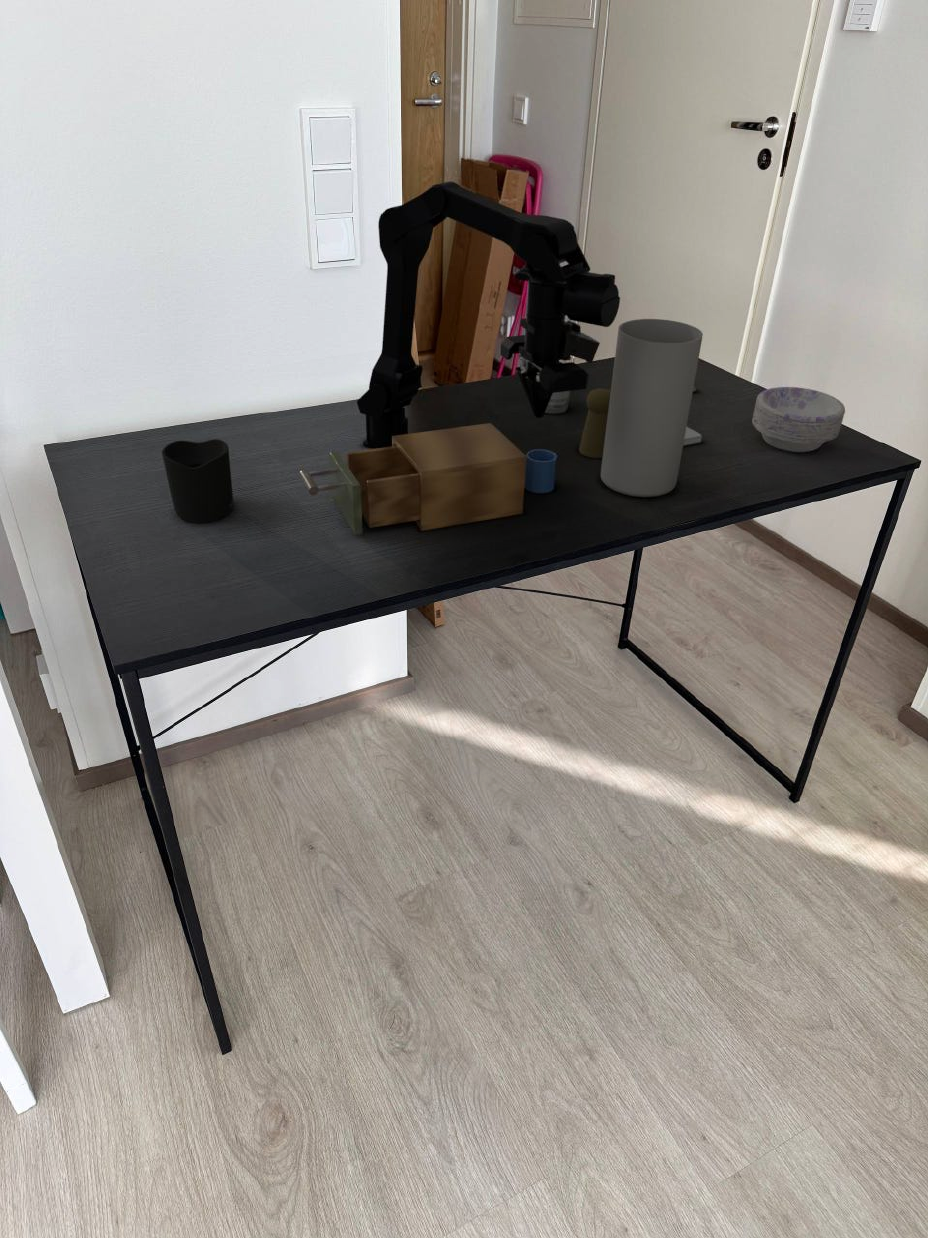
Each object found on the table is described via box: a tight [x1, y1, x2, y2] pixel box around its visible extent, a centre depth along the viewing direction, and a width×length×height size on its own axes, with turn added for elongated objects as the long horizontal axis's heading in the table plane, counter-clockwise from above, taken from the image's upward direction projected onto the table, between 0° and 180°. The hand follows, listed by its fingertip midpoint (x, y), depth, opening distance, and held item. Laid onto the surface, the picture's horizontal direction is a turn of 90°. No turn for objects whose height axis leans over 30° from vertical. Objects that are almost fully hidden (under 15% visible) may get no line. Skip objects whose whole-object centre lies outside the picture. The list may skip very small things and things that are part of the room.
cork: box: [578, 388, 611, 459], centre depth 156 cm, size 6×6×11 cm
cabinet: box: [392, 422, 527, 532], centre depth 139 cm, size 17×14×10 cm
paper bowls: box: [751, 386, 846, 453], centre depth 162 cm, size 15×15×8 cm
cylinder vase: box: [600, 318, 704, 498], centre depth 142 cm, size 12×12×25 cm
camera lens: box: [544, 391, 571, 415], centre depth 173 cm, size 6×6×8 cm
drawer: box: [298, 446, 420, 536], centre depth 134 cm, size 21×12×8 cm, turn 112°
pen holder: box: [161, 438, 234, 524], centre depth 134 cm, size 9×9×10 cm
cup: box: [524, 448, 558, 494], centre depth 145 cm, size 5×5×6 cm
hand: (538, 416), depth 139 cm, fingers closed
